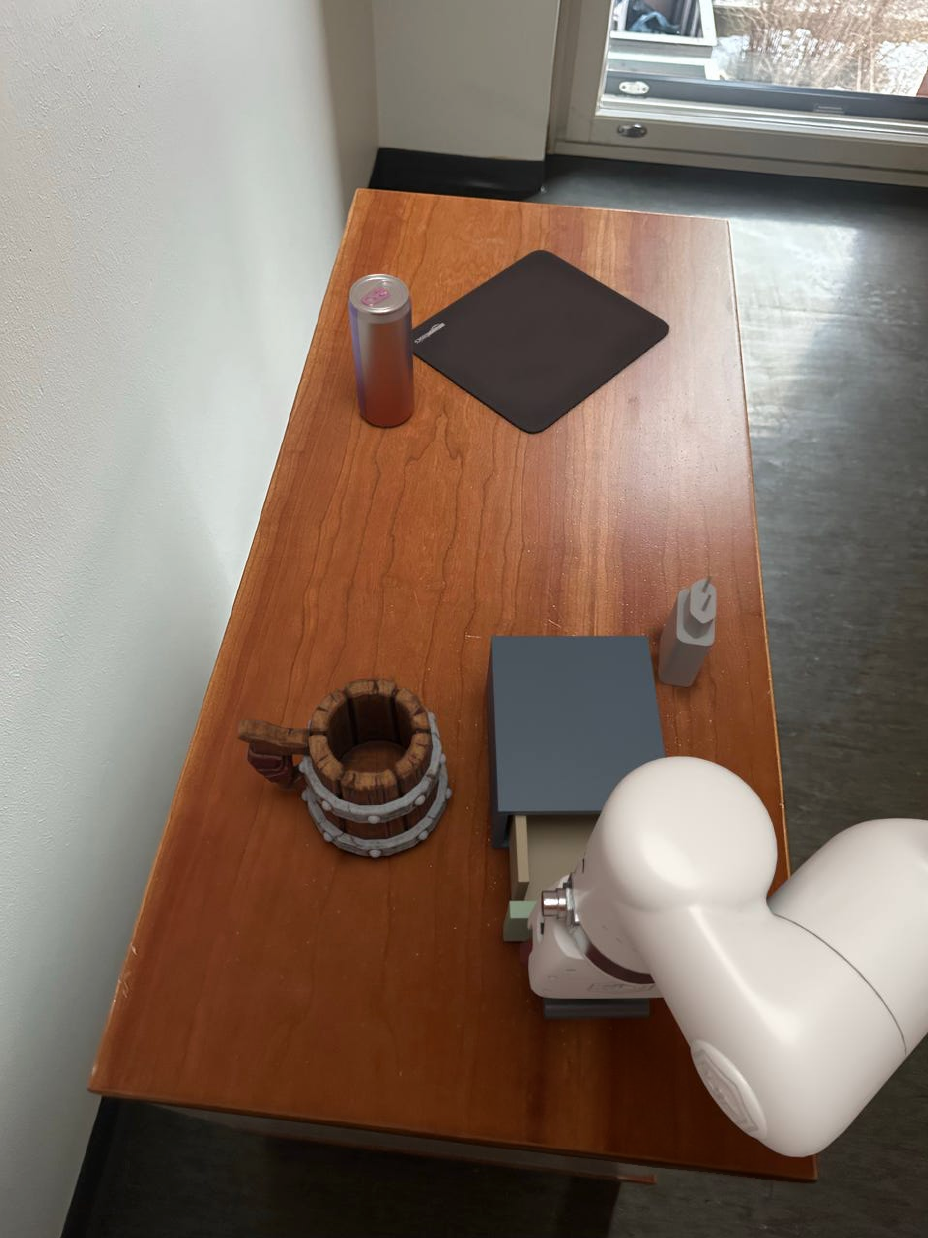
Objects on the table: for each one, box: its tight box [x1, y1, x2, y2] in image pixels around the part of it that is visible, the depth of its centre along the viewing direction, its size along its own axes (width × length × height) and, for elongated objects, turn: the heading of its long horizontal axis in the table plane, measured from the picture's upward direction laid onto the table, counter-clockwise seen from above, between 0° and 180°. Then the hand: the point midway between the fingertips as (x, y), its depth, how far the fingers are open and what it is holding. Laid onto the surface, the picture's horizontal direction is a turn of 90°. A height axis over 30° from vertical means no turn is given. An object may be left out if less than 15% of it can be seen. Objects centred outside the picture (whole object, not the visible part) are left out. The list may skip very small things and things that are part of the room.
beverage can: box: [347, 273, 415, 428], centre depth 90 cm, size 6×6×15 cm
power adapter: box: [657, 573, 717, 688], centre depth 75 cm, size 3×5×12 cm, turn 171°
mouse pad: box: [412, 249, 670, 434], centre depth 103 cm, size 25×21×1 cm
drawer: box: [502, 814, 651, 1020], centre depth 66 cm, size 20×11×7 cm, turn 1°
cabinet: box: [485, 635, 667, 850], centre depth 71 cm, size 15×13×9 cm
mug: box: [237, 677, 453, 858], centre depth 67 cm, size 12×14×15 cm
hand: (588, 974), depth 63 cm, fingers closed
